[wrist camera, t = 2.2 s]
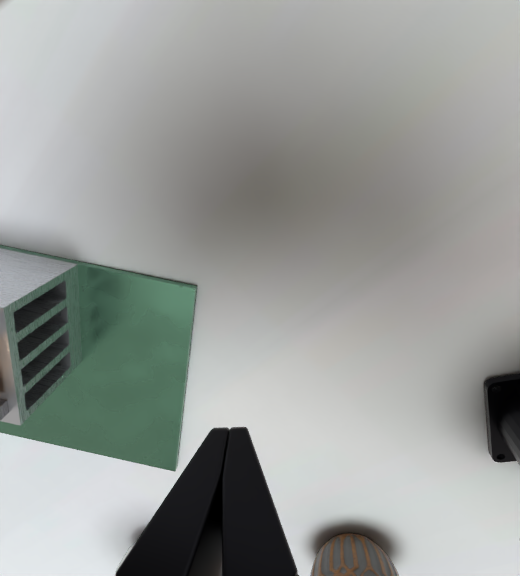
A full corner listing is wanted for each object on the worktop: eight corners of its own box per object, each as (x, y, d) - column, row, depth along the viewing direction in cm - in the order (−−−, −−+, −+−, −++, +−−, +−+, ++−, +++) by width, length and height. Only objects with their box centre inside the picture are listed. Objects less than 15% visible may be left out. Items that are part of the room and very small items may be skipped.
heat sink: (197, 285, 21) (144, 363, 14) (176, 466, 27) (134, 581, 20) (-80, 228, 21) (-267, 275, 14) (-36, 419, 28) (-148, 516, 21)
